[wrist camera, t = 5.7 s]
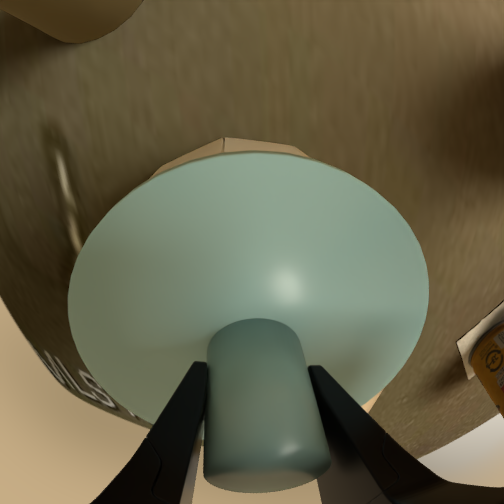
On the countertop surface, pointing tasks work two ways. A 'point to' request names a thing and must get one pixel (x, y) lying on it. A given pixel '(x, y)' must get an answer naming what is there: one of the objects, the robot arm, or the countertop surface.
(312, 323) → the lid
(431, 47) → the countertop surface
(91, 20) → the pepper shaker
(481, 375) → the condiment
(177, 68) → the countertop surface
